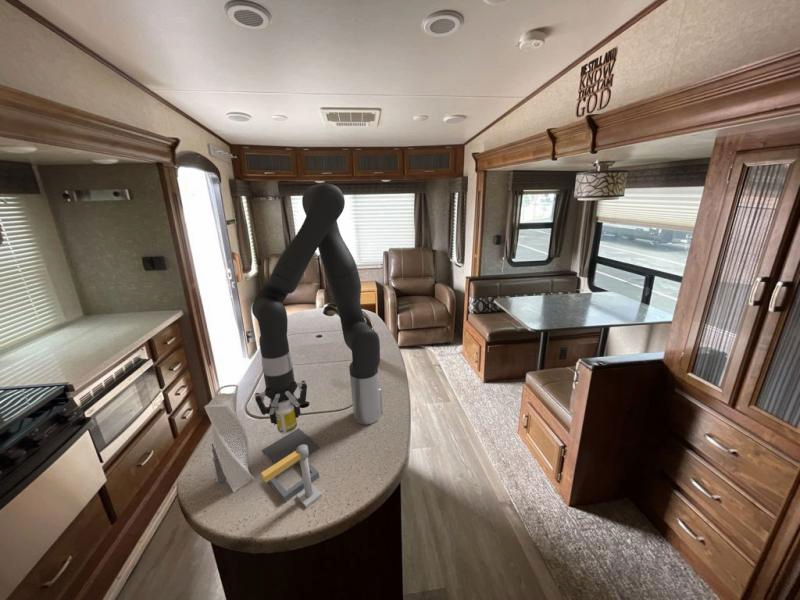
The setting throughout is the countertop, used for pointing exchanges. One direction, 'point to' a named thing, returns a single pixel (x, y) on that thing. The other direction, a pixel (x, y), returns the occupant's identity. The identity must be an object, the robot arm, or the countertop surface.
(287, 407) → the supplement bottle
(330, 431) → the countertop surface
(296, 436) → the mat
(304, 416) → the countertop surface
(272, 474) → the yellow lever
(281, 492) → the socket
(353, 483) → the countertop surface
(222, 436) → the skyscraper
